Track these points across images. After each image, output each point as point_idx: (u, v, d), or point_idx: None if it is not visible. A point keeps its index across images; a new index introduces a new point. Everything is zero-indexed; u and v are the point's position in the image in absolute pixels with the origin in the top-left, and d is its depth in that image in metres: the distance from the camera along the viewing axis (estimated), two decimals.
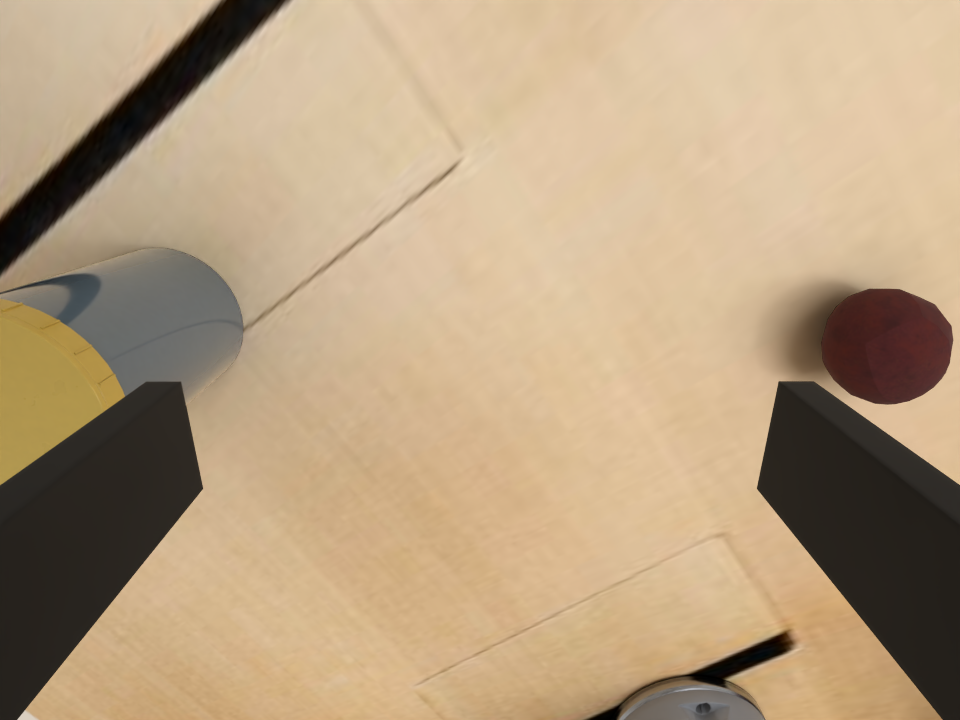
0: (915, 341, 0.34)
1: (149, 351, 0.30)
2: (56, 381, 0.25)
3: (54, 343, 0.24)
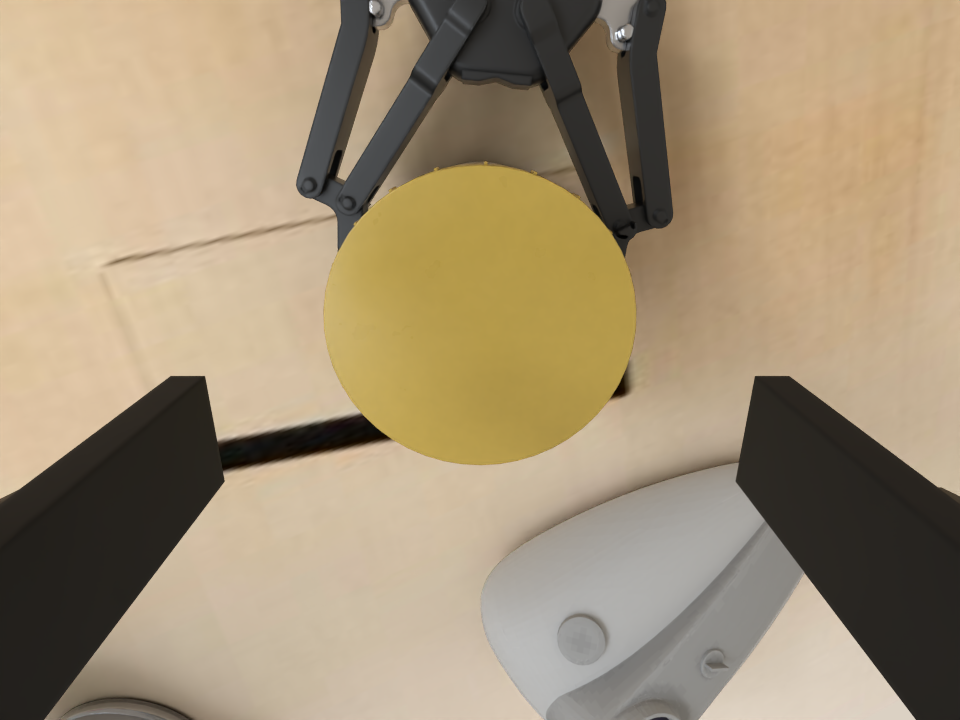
0: None
1: None
2: (360, 339, 0.20)
3: None
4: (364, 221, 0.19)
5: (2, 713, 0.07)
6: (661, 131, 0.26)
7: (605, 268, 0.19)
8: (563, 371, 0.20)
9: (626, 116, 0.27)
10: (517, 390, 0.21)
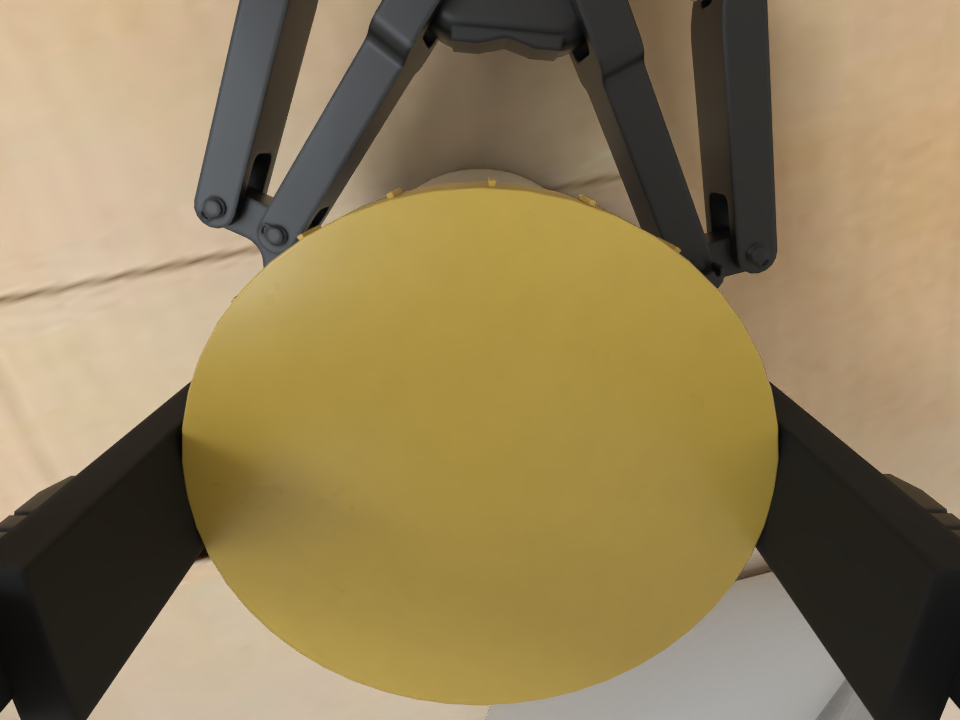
0: None
1: None
2: (256, 510, 0.11)
3: None
4: (247, 299, 0.09)
5: (70, 684, 0.08)
6: (766, 124, 0.16)
7: (726, 387, 0.10)
8: (633, 562, 0.11)
9: (705, 101, 0.17)
10: (548, 592, 0.11)
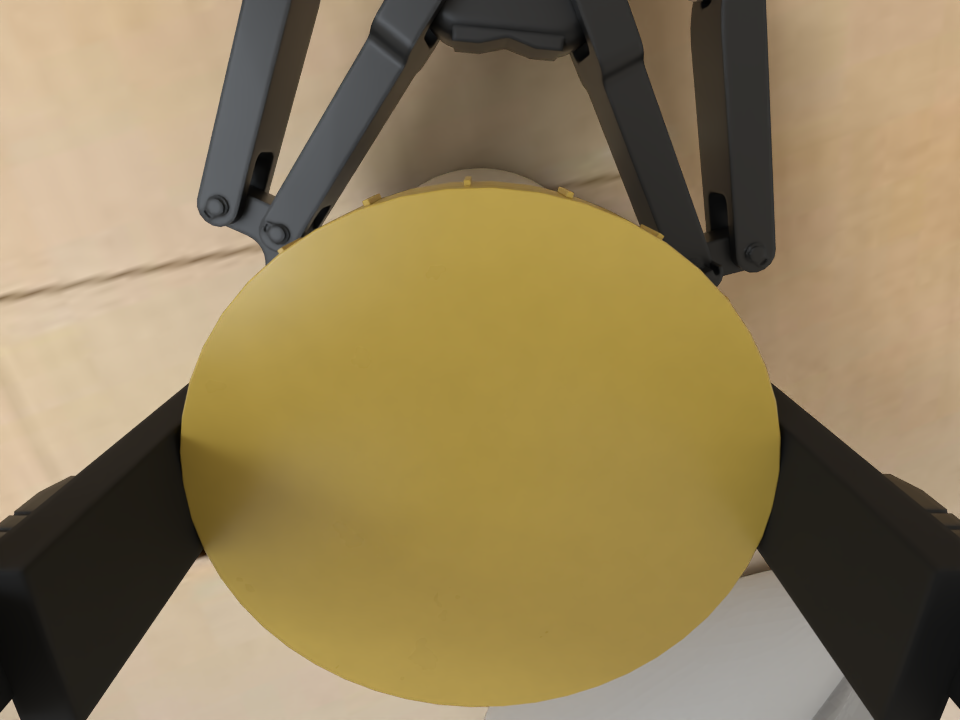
0: None
1: None
2: (436, 661, 0.12)
3: None
4: (247, 601, 0.11)
5: (71, 684, 0.08)
6: (765, 124, 0.16)
7: (427, 240, 0.09)
8: (621, 375, 0.10)
9: (704, 101, 0.17)
10: (625, 467, 0.10)
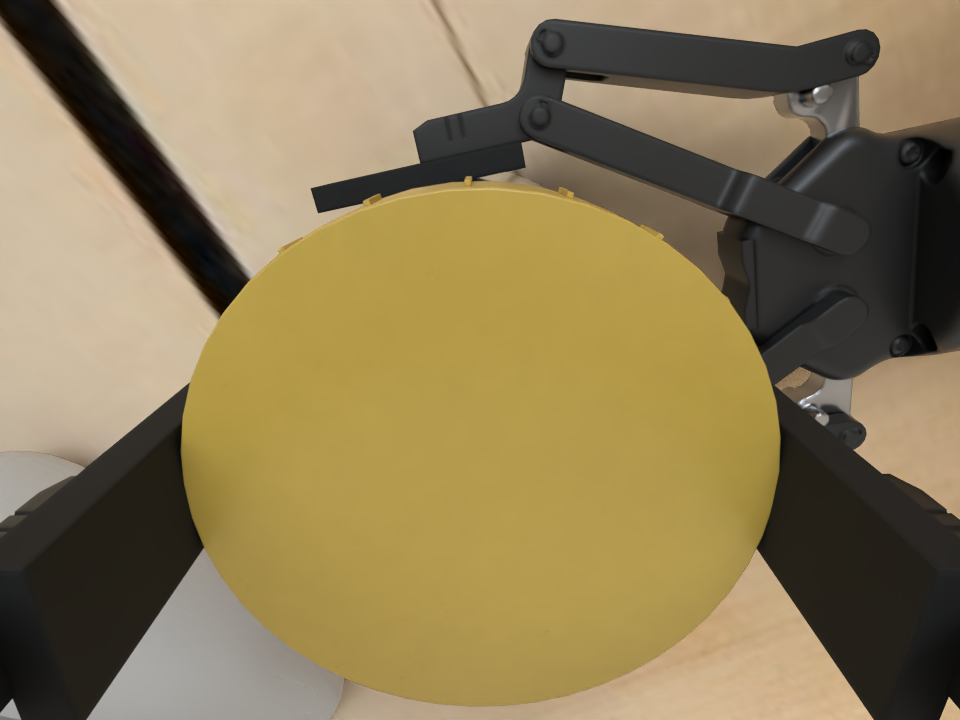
0: None
1: None
2: (436, 661, 0.12)
3: None
4: (247, 600, 0.11)
5: (71, 684, 0.08)
6: None
7: (427, 240, 0.09)
8: (621, 375, 0.10)
9: None
10: (625, 466, 0.10)
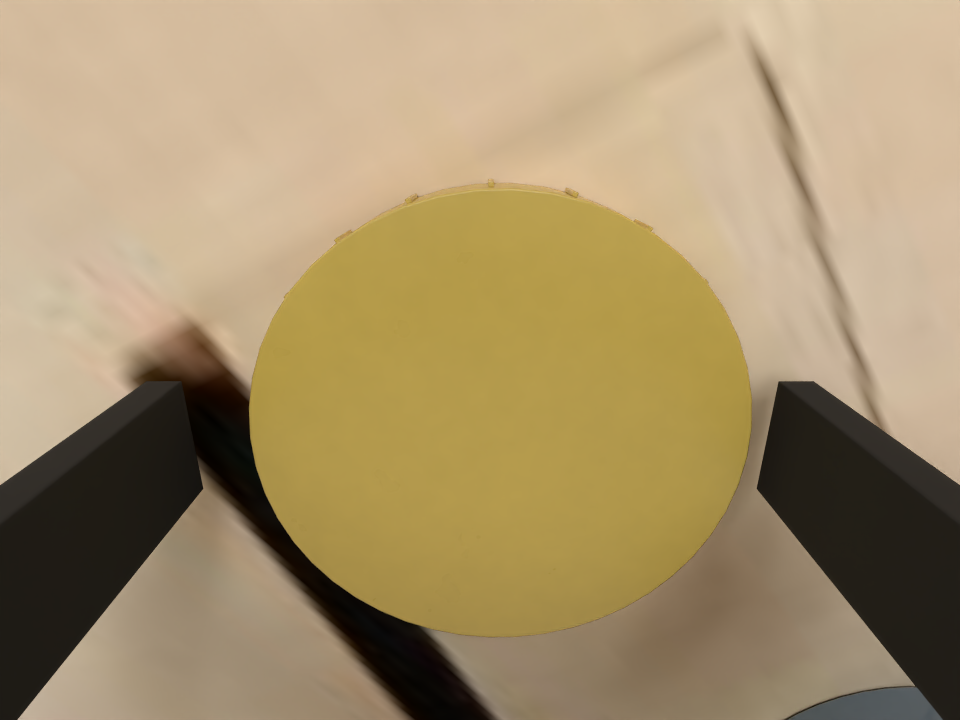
0: None
1: None
2: (459, 595, 0.14)
3: None
4: (299, 539, 0.13)
5: None
6: None
7: (458, 230, 0.11)
8: (617, 344, 0.12)
9: None
10: (621, 423, 0.12)
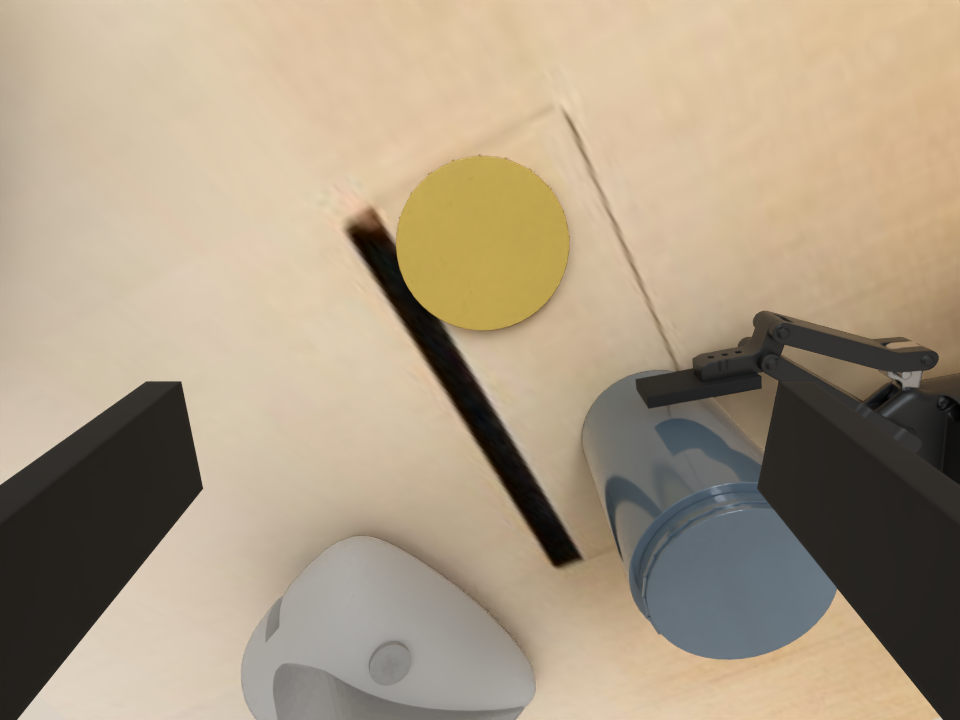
0: None
1: (702, 449, 0.30)
2: (468, 310, 0.37)
3: None
4: (410, 286, 0.37)
5: None
6: None
7: (469, 170, 0.34)
8: (521, 209, 0.35)
9: None
10: (524, 238, 0.36)
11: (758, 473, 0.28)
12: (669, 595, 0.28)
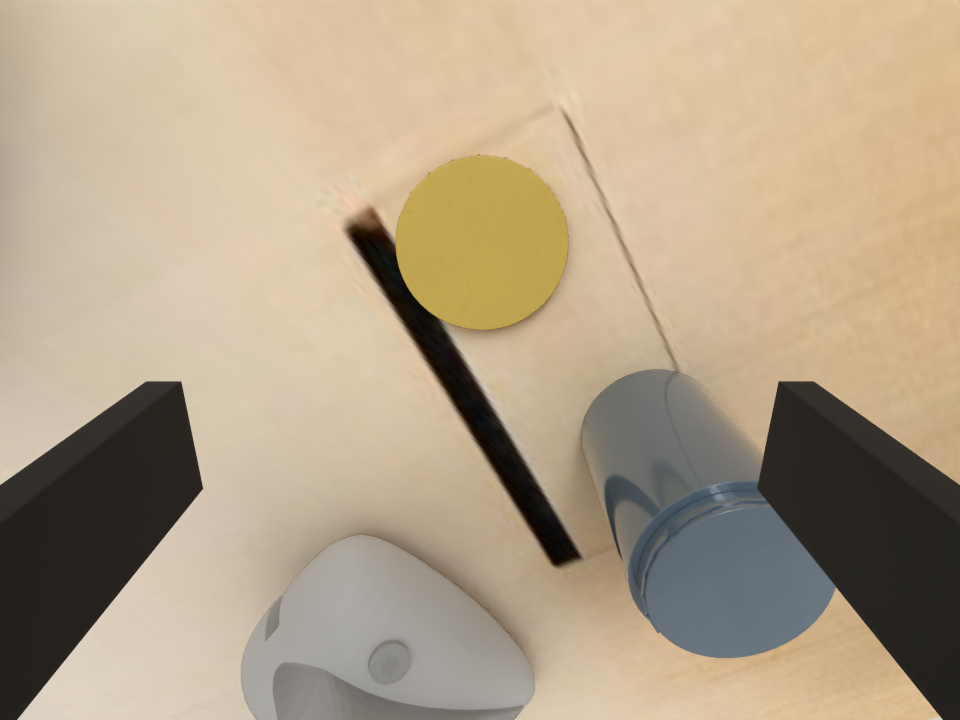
0: None
1: (701, 448, 0.30)
2: (467, 310, 0.37)
3: None
4: (409, 286, 0.37)
5: None
6: None
7: (468, 169, 0.34)
8: (520, 208, 0.35)
9: None
10: (523, 237, 0.36)
11: (757, 472, 0.28)
12: (668, 593, 0.28)
